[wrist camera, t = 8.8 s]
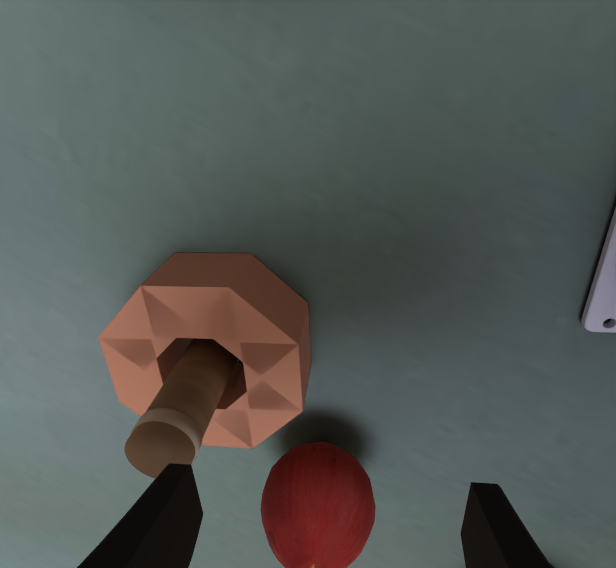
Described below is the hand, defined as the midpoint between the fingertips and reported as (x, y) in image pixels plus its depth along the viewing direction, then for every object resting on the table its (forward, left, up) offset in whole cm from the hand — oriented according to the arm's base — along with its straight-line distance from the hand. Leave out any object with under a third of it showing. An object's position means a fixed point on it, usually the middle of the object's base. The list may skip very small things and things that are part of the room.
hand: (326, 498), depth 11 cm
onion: (+1, +10, -11) cm, 15 cm away
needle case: (+6, +2, -10) cm, 12 cm away
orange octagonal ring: (+6, +2, -10) cm, 12 cm away
